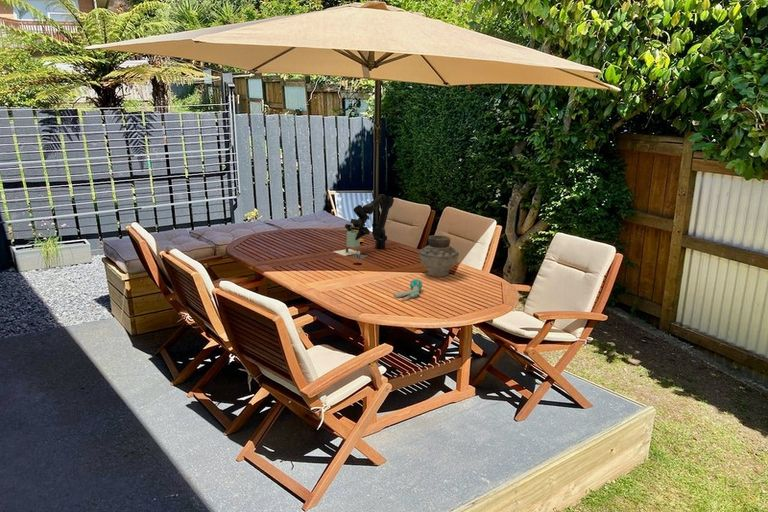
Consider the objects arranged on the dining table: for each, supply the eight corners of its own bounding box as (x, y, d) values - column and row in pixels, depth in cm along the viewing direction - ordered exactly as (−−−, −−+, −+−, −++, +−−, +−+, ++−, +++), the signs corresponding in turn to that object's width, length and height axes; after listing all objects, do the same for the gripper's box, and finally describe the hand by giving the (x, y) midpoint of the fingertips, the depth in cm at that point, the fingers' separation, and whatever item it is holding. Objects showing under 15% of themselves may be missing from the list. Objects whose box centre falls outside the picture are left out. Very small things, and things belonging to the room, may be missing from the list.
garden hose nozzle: (400, 295, 320) (433, 287, 326) (387, 283, 335) (419, 276, 341) (400, 307, 322) (433, 299, 329) (388, 294, 338) (420, 287, 344)
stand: (355, 255, 414) (355, 248, 413) (368, 257, 410) (368, 250, 409) (348, 259, 405) (348, 252, 404) (361, 260, 401) (361, 253, 400)
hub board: (349, 250, 428) (349, 244, 427) (360, 254, 417) (360, 247, 416) (333, 253, 419) (333, 246, 418) (344, 257, 409) (344, 250, 408)
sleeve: (352, 244, 414) (352, 230, 411) (359, 245, 410) (359, 231, 408) (346, 246, 409) (346, 232, 406) (354, 247, 405) (353, 233, 403)
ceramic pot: (435, 266, 390) (437, 231, 384) (465, 274, 373) (467, 237, 367) (410, 273, 373) (410, 236, 367) (440, 282, 356) (441, 243, 350)
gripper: (346, 212, 412) (336, 230, 406) (367, 215, 402) (357, 234, 396) (353, 221, 420) (343, 239, 415) (374, 225, 410) (364, 243, 404)
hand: (351, 239), depth 407 cm, fingers closed on sleeve, 6 cm apart
